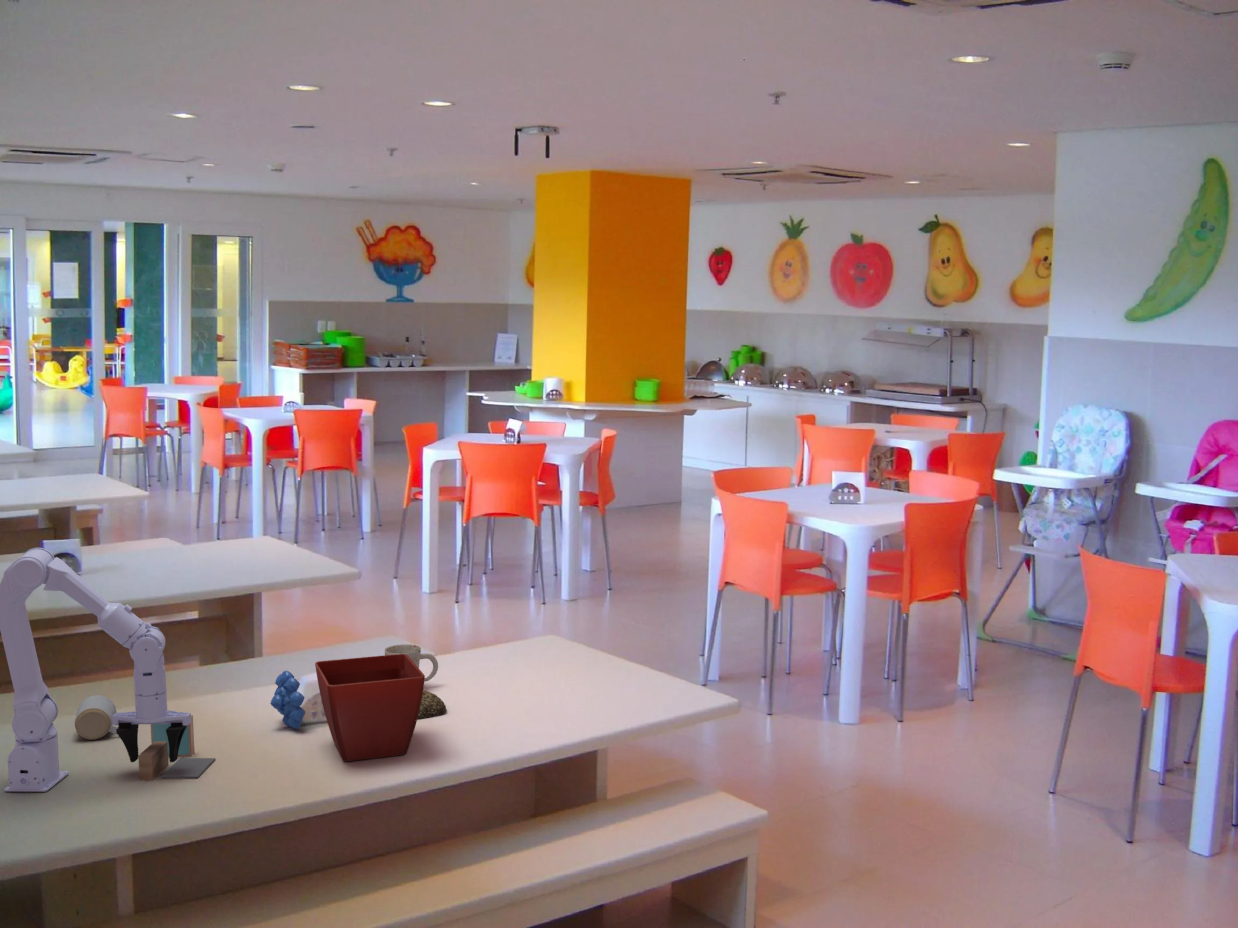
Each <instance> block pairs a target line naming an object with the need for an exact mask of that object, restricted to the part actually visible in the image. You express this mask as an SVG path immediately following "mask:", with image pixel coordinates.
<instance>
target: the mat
mask: <svg viewBox="0 0 1238 928" xmlns="http://www.w3.org/2000/svg"><path fill="white" fill-rule="evenodd" d="M215 761H216V758H215V757H180V758H178V759H177V760H176V761H175V762H173V764H172V765H171V766H170V767H169V768H168V769H167V770H166V771H165V772H164V773H163V774H162V775H161V776H160V778H161V779H185V780H186V779H192V780H194V779H199V778H200V777H201V776H202V775H203V774H204V773H205V772H206V771H207V769H209V767H210V766H211V765H212V764H214V762H215Z"/></svg>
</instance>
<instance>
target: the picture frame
mask: <svg viewBox="0 0 1238 928" xmlns="http://www.w3.org/2000/svg"><path fill="white" fill-rule="evenodd" d="M169 726H171V724H150V739H151V741H150V742H151V744H152V743H153V742H154V741H167V746H168V757H169V742H168V737H167V733H166V729H167V728H168V727H169ZM194 732H195V731H194V715H193V714H191V723H190V724H189V725H187V727H186V729H185V732H184V734H183V737H182V739H181V743H180V746H179V751H178V757H193V756H194V755H195V734H194ZM151 744H150V745H151ZM193 754H194V755H193ZM192 755H193V756H192Z"/></svg>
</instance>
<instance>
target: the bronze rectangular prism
mask: <svg viewBox="0 0 1238 928" xmlns="http://www.w3.org/2000/svg"><path fill="white" fill-rule="evenodd" d="M168 767H169V756H168V746H167V741H154V742H153V743H152V744H150V745H148V747H146V748H145V749H144V750H143V751H142V752H141V753H139V754H138V776H139V781H148V782H149V781H153V782H154V780H155V779H156V778H157V777H158V776H159V775H160V774H161V773H162V772H163V771H164V770H166V768H168Z"/></svg>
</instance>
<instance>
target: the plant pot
mask: <svg viewBox="0 0 1238 928" xmlns="http://www.w3.org/2000/svg"><path fill="white" fill-rule="evenodd" d="M314 666H315V672H316V679H317V684H318V690H319V694H320V700H321V704H322V708H323V712H324V716H325V718H326V722H327V726H328V728H329V731H330V735H331V738H332V741H333V743H334V745H335V747H336V749H337V752H338V753H339V755H340V757H341V760H342V761H344V762H351V761H360V760H370V759H377V758H379V759H380V758H386V757H387V758H388V757H394V756H403V755H406V754H407V752H408V751H409V749H410V748H409V747H410V745H411V741H412V738H413V735H414V732H415V728H416V725H417V721H418V719H417V718H418V714H419V710H420V705H421V701H422V695H423V690H424V687H425V682H424V680H425V678H426V675H425V674H424V673H423V671H422V670H421V669H420V667H419V668H418V667H417V666H416V665H415V663H414V662H413V661H412V660H411V659H410V658H409V656H408V655H406V654H396V655H385V654H384V655H375V656H363V657H353V658H352V657H351V658H342V659H341V658H339V659H329V660H321V661H320V660H319V661H315V663H314Z"/></svg>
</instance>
